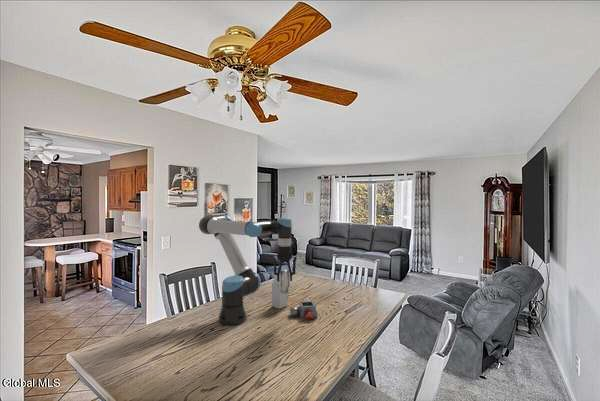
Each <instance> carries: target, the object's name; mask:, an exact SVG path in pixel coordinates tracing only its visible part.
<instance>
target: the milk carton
mask: <svg viewBox="0 0 600 401" xmlns="http://www.w3.org/2000/svg"><path fill="white" fill-rule="evenodd" d="M287 306H288V293H280V288H279V282H278V281H277V275H275V277H274V279H273V280H272V282H271V307H273V308H276V309H279V310H280V309H283V308H285V307H287Z"/></svg>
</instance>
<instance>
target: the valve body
mask: <svg viewBox="0 0 600 401" xmlns="http://www.w3.org/2000/svg"><path fill="white" fill-rule="evenodd" d="M316 307H317V306H316V303H315V304H314V301H313V300H312V301H311V300H309V301H308V300H307V301H299V306H297V307H289V308H290V309H289V315H290V317H297V316H298V317H299V319H306V320H308V321H311V320H313V319H316V318H318V310H317V308H316Z"/></svg>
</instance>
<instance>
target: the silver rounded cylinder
mask: <svg viewBox="0 0 600 401" xmlns="http://www.w3.org/2000/svg"><path fill="white" fill-rule="evenodd" d="M289 275H290V273H289V269H281V271H280V276H281V288H280V293H287V294H288V293H289V292H290V291H289V289H290V288H289Z"/></svg>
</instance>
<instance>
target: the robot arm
mask: <svg viewBox="0 0 600 401" xmlns="http://www.w3.org/2000/svg"><path fill="white" fill-rule="evenodd" d="M292 226H293V225H292V218H290V217H279V218H278V219H277V221H276V220H275V221H274V220H261V221H239V220H233V219H232V218H231V217H230V216H229V215H226V214H214V215H213V214H212V215H211V214H210V215H205V216H203V217H202V218H201V219H200V220H199V222H198V229H199V230H200V232H201V233H203V234H204V235H214V238H215V239H216V240H219V242H220V245H221V246H222V250H223V251H224V253H225V255H226V257H227V260H228V261H229V264H230V266H231V268H232V271H233V272H234V275H230V276H227V277H225V278H224V279H222V280H223V281H222V285H221V308H220V311H219V314H218V323H219V324H221V325H224V326H236V325H240V324H243V323H244V322H245V321H246V320H247V313H246V309H245V307H244V298H245V297H247V296H249V295H253V294H255V293H256V292H257V291H258V290H259V289H260V288H261V284H262V280H261V277H260V275H259V274H258V273H257V272H254V270H253V269H252V267H249V266H248V264H247V262H246V260H245V258H244V256H243V254H242V252H241V250H240V248H239V246H238V244H237V242H236V240H235V238H234V235H239V236H248V237H251V238H256V237H261V236H267V235H277V244H278V247H277V255H275V256H273V257H272V260H273V275H274V276H277V281H278V282H279V288H281V276H280V273H281V270H282V267H283V263H287V268H288V269H287V270H289V289H290V288H291V282H292V281H293V275H295V274H296V268H297V267H296V264H297V263H296V261H297V259H298V258H297V255H293V254H292V230H293V229H292ZM277 260H279V264H278V269H277ZM291 260H292V267H291V263H290V261H291Z"/></svg>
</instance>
